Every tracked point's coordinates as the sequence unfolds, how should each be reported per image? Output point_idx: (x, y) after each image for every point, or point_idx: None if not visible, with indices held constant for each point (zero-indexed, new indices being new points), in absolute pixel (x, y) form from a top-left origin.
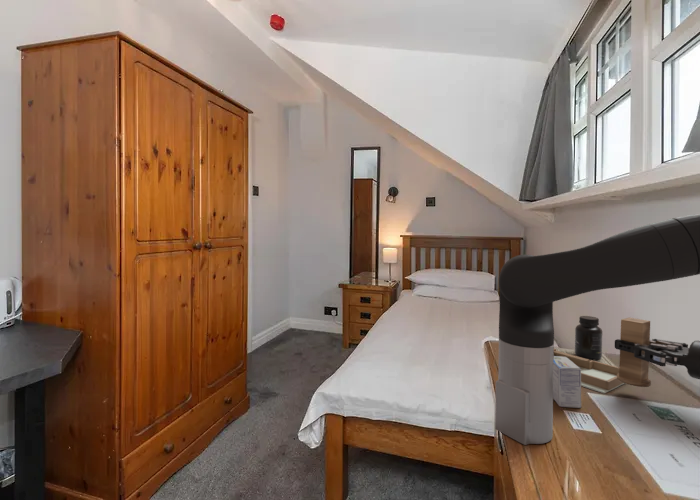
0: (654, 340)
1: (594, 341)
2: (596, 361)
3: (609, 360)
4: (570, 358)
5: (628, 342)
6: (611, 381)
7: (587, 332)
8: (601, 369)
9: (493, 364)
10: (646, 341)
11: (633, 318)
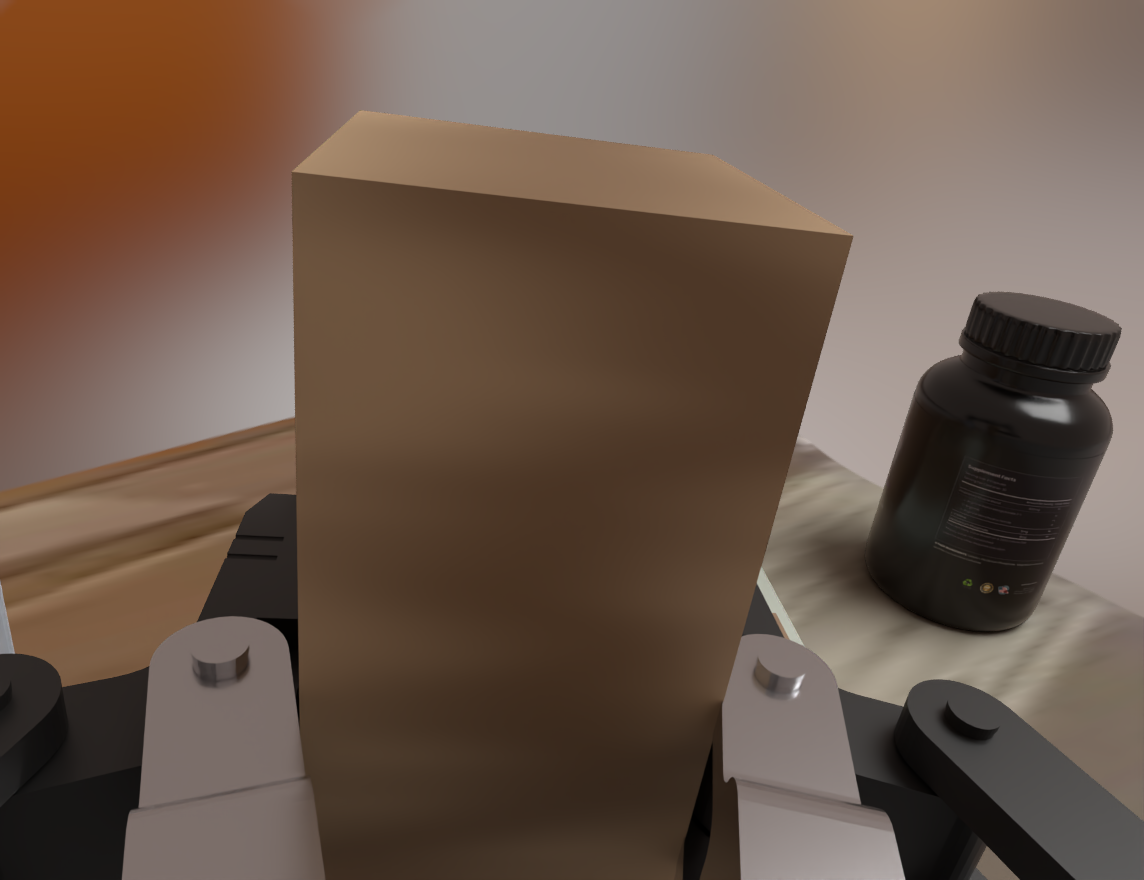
0: (912, 728)
1: (973, 497)
2: (786, 636)
3: (1053, 667)
4: None
5: (279, 562)
6: None
7: (948, 415)
8: None
9: (262, 428)
10: (558, 682)
11: (700, 164)
